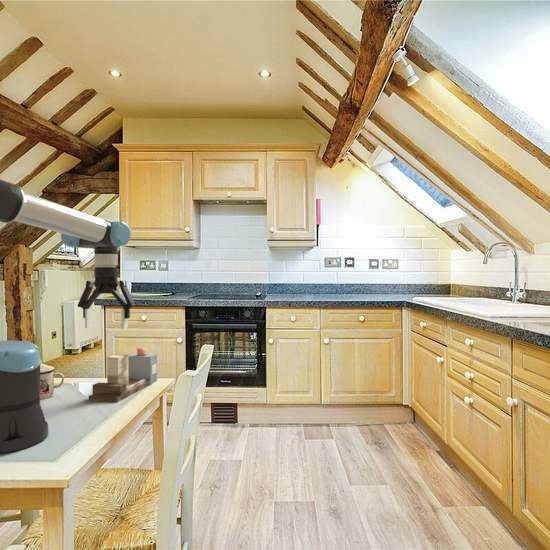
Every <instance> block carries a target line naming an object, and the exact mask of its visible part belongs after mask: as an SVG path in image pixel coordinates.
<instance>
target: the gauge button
mask: <svg viewBox="0 0 550 550" xmlns="http://www.w3.org/2000/svg"><path fill="white" fill-rule="evenodd" d="M136 354H137V356H145V354H146V347H138V348H136Z"/></svg>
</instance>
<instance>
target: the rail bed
mask: <svg viewBox="0 0 550 550" xmlns="http://www.w3.org/2000/svg"><path fill="white" fill-rule="evenodd" d="M153 381H154V380H153ZM151 385H152V384H151V380H148V378H144V379H142V380H132V379H130V377H129V386H128V387H126V384H120V383H107V382H96V383H94V384H92V394H90V395H89V396H88V401H89V402H101V401H103V402H102V403H106V402H107V403H119V402H121V401H122V400H124V399H126V398H128V397H130V396H132V395H134V394H135V393H137V392H140V391H141V390H143V389H144V388H147V387H148V386H151Z"/></svg>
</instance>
